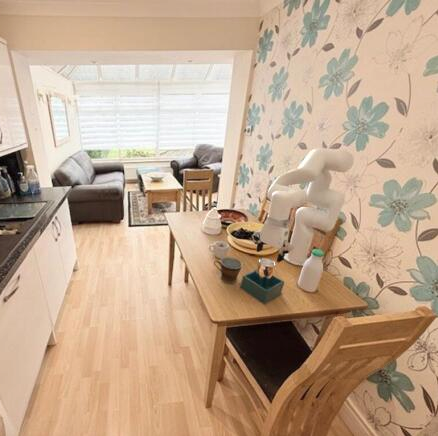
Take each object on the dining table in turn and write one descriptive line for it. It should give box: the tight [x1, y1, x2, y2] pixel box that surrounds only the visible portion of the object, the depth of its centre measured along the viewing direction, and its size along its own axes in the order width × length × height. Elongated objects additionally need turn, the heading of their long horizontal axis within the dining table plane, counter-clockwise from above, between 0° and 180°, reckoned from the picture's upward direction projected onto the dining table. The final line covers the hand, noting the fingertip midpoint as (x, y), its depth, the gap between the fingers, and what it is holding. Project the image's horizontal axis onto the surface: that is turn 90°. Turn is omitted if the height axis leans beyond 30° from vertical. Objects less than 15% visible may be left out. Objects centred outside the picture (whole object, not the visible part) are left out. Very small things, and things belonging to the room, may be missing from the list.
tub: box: [240, 268, 285, 305], centre depth 111 cm, size 13×13×7 cm
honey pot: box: [201, 206, 223, 236], centre depth 166 cm, size 13×13×18 cm
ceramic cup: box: [213, 256, 243, 284], centre depth 118 cm, size 13×10×10 cm
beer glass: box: [256, 257, 276, 290], centre depth 109 cm, size 7×7×15 cm
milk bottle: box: [297, 248, 325, 293], centre depth 110 cm, size 8×8×20 cm
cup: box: [208, 240, 230, 260], centre depth 138 cm, size 11×8×8 cm
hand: (269, 255), depth 105 cm, fingers open, 9 cm apart
